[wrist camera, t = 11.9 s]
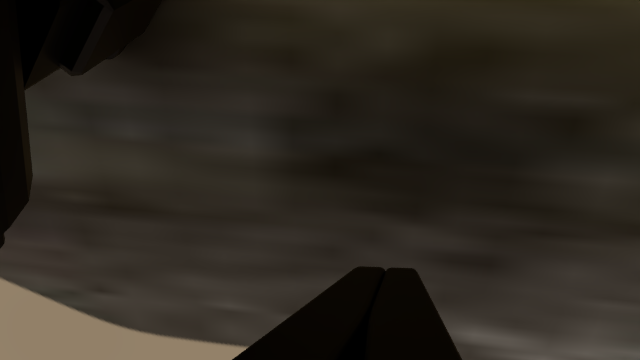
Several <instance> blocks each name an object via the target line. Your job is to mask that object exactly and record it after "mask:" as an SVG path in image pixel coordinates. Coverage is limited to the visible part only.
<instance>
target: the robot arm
mask: <svg viewBox="0 0 640 360" xmlns="http://www.w3.org/2000/svg"><path fill="white" fill-rule="evenodd" d="M161 1H162V0H0V248H1V247H2V246H3V244H4V241H5V237H4V232H5V231H6V230H7V229H9V227H10V226H11V225H12V223H13V222H14V221H15V219H16V218H17V216H18V215H19V214H20V212H21V211H22V210H23V208H24V207H25V205H26V204H27V203H28V201H29V196H30V190H31V184H32V177H33V173H32V163H31V153H30V143H29V133H28V123H27V113H26V103H25V92H24V91H25V90H26V89H28V88H29V87H31V86H33V85H34V84H36V83H37V82H39V81H41V80H42V79H44V78H45V77H47V76H48V75H50V74H52V73H53V72H55V71H56V70H58V69H60V68H61V69H63V70H64V71H65V72H67V73H68V74H69V75H71V76H75V75H82V74H84V73H85V72H87V71H88V70H90V69H91V68H93V67H94V66H96V65H97V64H98V63H100V62H101V61H103V60H104V59H112V58H115V57H116V56H117V55H119V54H120V53H121V52H122V51H123V49H124V47H125V45H126V44H128V43H129V42H131V41H132V40H134V39H135V38H136V37H138V36H139V35H141V34H142V33H143V32H144V31H145V29H146V27H147V26H148V24H149V22H150V20H151V19H152V17H153V15H154V13H155V11H156V10H157V8H158V6H159V4H160V3H161ZM232 360H462V358H461V356H460V354H459V352H458V351H457V349H456V347H455V345H454V343H453V341H452V339H451V337H450V335H449V333H448V331H447V329H446V327H445V325H444V323H443V321H442V319H441V317H440V315H439V313H438V311H437V310H436V308H435V306H434V304H433V302H432V300H431V298H430V296H429V294H428V292H427V290H426V288H425V286H424V284H423V282H422V280H421V278H420V276H419V274H418V273H417V271H416V270H415V269H412V268H389V269H387V270H386V271H385V270H384V269H383V268H381V267H357V268H355V269H353V270H352V271H351V272H349V273H348V274H347V275H345V276H344V277H342V278H341V279H340V280H338V281H337V282H336V283H334V284H333V285H332V286H330V287H329V288H328V289H326V290H325V291H324V292H322V293H321V294H320V295H318V296H317V297H316V298H314V299H313V300H312V301H310V302H309V303H308V304H306V305H305V306H304V307H302V308H301V309H300V310H298V311H297V312H296V313H294V314H293V315H291V316H290V317H289V318H287V319H286V320H285V321H283V322H282V323H281V324H279V325H278V326H277V327H275V328H274V329H273V330H271V331H270V332H269V333H267V334H266V335H265V336H263V337H262V338H261V339H259V340H258V341H257V342H255V343H254V344H253V345H251V346H250V347H249V348H247V349H246V350H245V351H243V352H242V353H241V354H239V355H238V356H237V357H235V358H234V359H232Z"/></svg>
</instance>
